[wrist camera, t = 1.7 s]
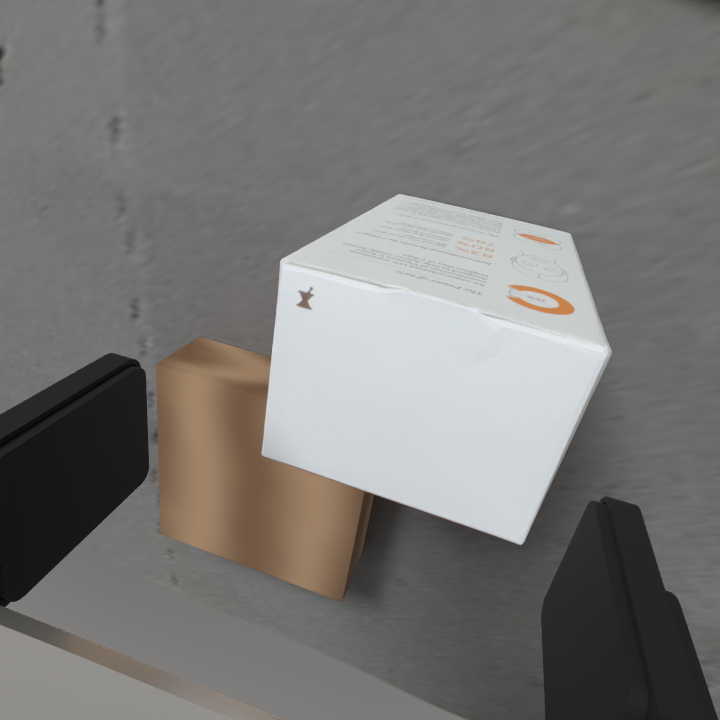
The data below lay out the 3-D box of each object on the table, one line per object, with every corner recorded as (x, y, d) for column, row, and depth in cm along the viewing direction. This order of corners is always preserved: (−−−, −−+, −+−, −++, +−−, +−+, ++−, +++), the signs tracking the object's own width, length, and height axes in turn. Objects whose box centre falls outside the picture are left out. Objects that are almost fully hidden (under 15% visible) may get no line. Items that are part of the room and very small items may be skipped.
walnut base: (396, 393, 28) (376, 431, 25) (362, 552, 34) (342, 602, 30) (199, 336, 31) (156, 364, 27) (196, 493, 36) (160, 533, 33)
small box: (371, 316, 27) (252, 458, 16) (396, 190, 24) (273, 251, 13) (529, 361, 25) (525, 554, 14) (576, 232, 23) (619, 344, 11)
